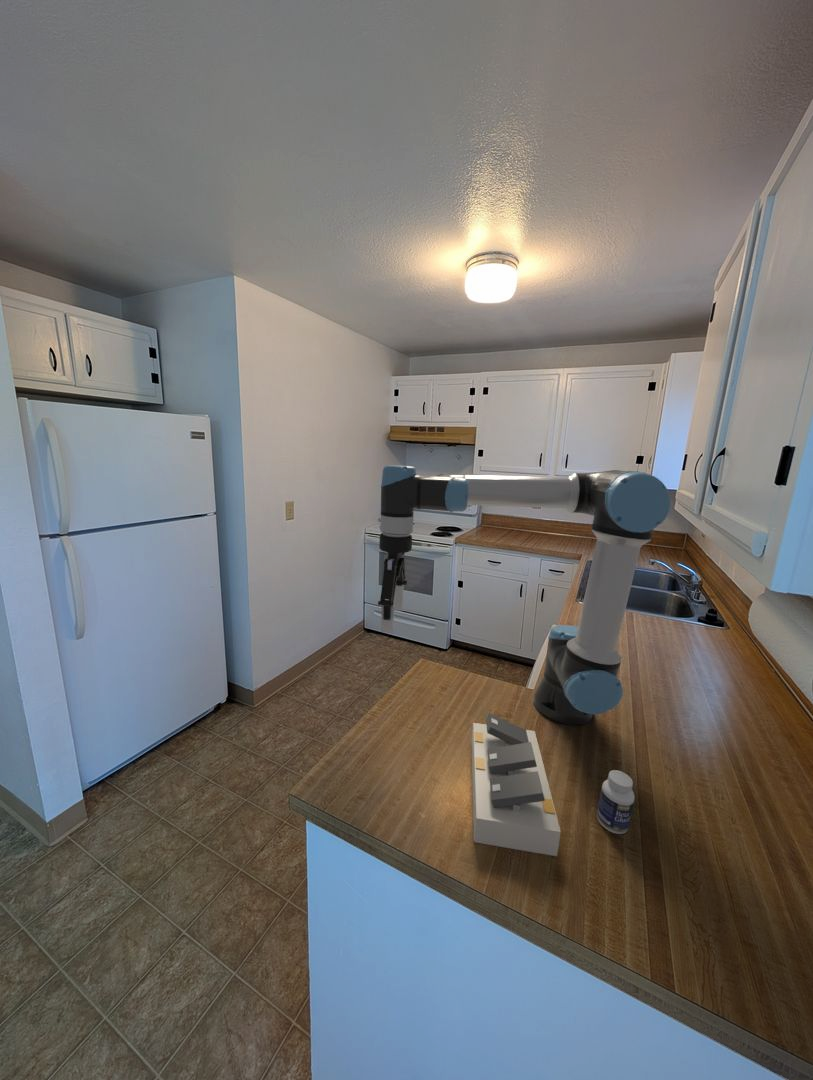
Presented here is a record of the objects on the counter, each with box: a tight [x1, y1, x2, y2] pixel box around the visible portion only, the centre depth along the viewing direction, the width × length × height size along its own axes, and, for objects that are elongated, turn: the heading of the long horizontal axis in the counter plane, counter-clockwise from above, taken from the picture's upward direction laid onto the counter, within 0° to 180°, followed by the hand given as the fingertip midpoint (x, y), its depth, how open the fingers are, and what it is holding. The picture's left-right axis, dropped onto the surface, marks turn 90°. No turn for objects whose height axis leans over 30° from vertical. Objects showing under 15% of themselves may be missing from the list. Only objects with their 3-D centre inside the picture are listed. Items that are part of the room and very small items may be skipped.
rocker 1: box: [485, 712, 529, 745], centre depth 89 cm, size 9×5×2 cm, turn 82°
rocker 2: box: [487, 742, 537, 774], centre depth 81 cm, size 9×5×2 cm, turn 82°
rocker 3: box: [490, 771, 545, 808], centre depth 74 cm, size 9×5×2 cm, turn 82°
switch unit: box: [470, 722, 562, 857], centre depth 82 cm, size 14×26×6 cm, turn 172°
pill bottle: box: [596, 769, 636, 835], centre depth 76 cm, size 5×5×10 cm
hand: (392, 620), depth 98 cm, fingers open, 13 cm apart
